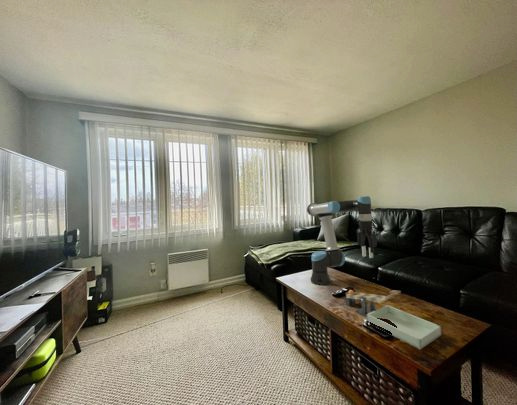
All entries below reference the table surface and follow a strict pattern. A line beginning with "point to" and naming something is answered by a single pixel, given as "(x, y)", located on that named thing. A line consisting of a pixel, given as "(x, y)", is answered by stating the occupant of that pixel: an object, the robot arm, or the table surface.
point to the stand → (365, 308)
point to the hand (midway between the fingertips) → (367, 256)
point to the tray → (406, 326)
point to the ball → (351, 292)
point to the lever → (372, 296)
